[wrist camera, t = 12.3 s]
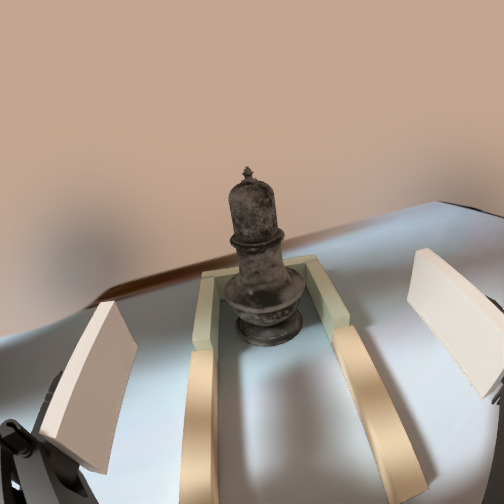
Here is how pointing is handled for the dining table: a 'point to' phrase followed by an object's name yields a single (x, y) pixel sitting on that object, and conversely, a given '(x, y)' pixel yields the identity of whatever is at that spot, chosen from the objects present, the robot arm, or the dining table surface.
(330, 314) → the socket
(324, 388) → the dining table surface
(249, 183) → the dark stone chess piece
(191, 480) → the channel
